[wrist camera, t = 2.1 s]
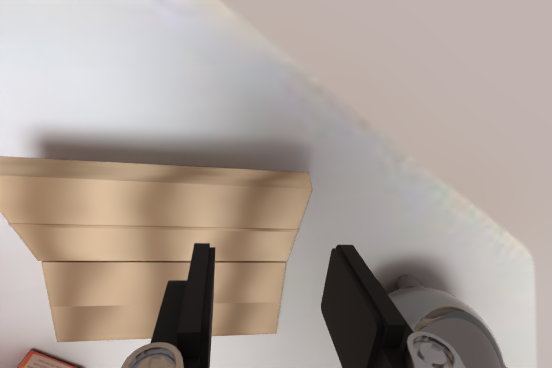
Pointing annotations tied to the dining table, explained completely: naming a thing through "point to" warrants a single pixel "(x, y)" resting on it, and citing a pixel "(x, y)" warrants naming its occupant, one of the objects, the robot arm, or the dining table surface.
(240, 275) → the laid planks
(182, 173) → the board
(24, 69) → the dining table surface
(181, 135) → the dining table surface
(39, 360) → the cracker box
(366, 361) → the robot arm
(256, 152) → the dining table surface
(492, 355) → the piggy bank
